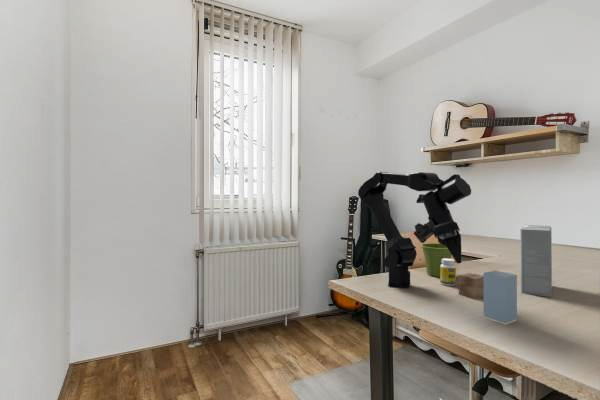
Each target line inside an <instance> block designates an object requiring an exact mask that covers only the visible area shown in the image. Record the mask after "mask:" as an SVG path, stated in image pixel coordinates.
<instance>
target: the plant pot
mask: <svg viewBox="0 0 600 400" xmlns="http://www.w3.org/2000/svg"><path fill="white" fill-rule="evenodd" d="M420 247H421V248H422V252H423V256H424V262H425V268H426V274H427V275H428V276H430V275H431V276H433V277H435V278H440V266H441V264H442V259H444V258H447V259H452V254H451V253H450V251H449V250H448V248H447V247H445V246H443V245H440V244H439V242H438V243H437V242H429V243H428V242H426V243H425V242H424V243H421V244H420Z"/></svg>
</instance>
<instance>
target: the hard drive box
mask: <svg viewBox="0 0 600 400" xmlns="http://www.w3.org/2000/svg"><path fill="white" fill-rule="evenodd" d="M519 235H520V240H519V241H520V293H522V294H525V295H526V294H527V295H535V296H541V297H542V296H543V297H547V298H551V297H552V291H553V290H552V288H553V287H552V286H553V264H552V263H553V262H552V260H553V259H552V258H553V255H552V254H553V253H552V251H553V249H552V248H553V247H552V240H553V239H552V237H553V236H552V226H551V225H534V224H524V225H522V227H521V228H520V232H519Z"/></svg>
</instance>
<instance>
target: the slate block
mask: <svg viewBox="0 0 600 400" xmlns="http://www.w3.org/2000/svg"><path fill="white" fill-rule="evenodd" d="M483 275H484V297H483V318H485V319H487V320H490V321H494V322H496V323H499V324H503V325H505V326H506V325H509V324H511V323H513V322H517V321H518V275H517V274H514V273H511V272H510V273H509V272H505V271H501V270H500V271H499V270H490V271H486V272H485V271H484V272H483Z"/></svg>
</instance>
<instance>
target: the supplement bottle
mask: <svg viewBox="0 0 600 400" xmlns="http://www.w3.org/2000/svg"><path fill="white" fill-rule="evenodd" d="M455 264H456V261H455V259H454V258H451V259H447V258H444V259H442V264H441V266H440V277H439V282H440V284H441V285H442V286H443V285H444V286H447V287H448V286H449V287H451V286H456V282H457V281H456V280H457V279H456V278H457V271H456V269H457V267H456V265H455Z"/></svg>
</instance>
